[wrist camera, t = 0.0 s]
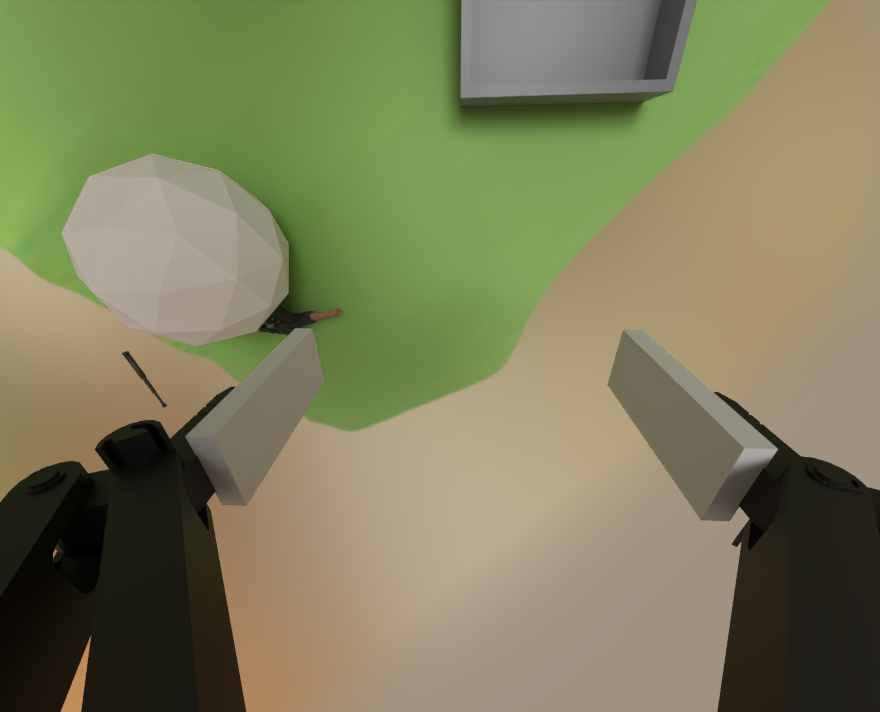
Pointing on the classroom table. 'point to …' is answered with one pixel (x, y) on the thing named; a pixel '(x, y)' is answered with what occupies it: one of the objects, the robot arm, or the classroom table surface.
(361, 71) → the classroom table surface
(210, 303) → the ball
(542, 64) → the tote
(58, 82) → the classroom table surface
